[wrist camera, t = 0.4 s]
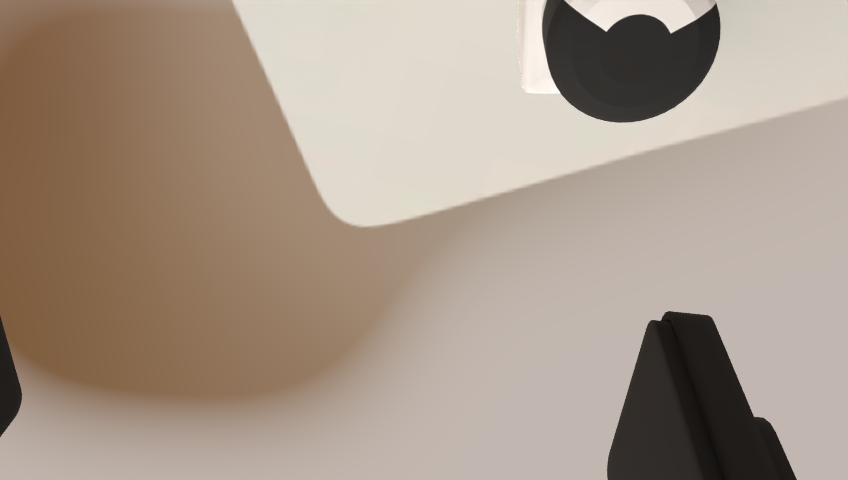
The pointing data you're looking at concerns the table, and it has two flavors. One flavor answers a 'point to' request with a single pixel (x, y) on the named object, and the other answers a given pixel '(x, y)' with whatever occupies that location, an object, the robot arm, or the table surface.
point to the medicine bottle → (617, 53)
